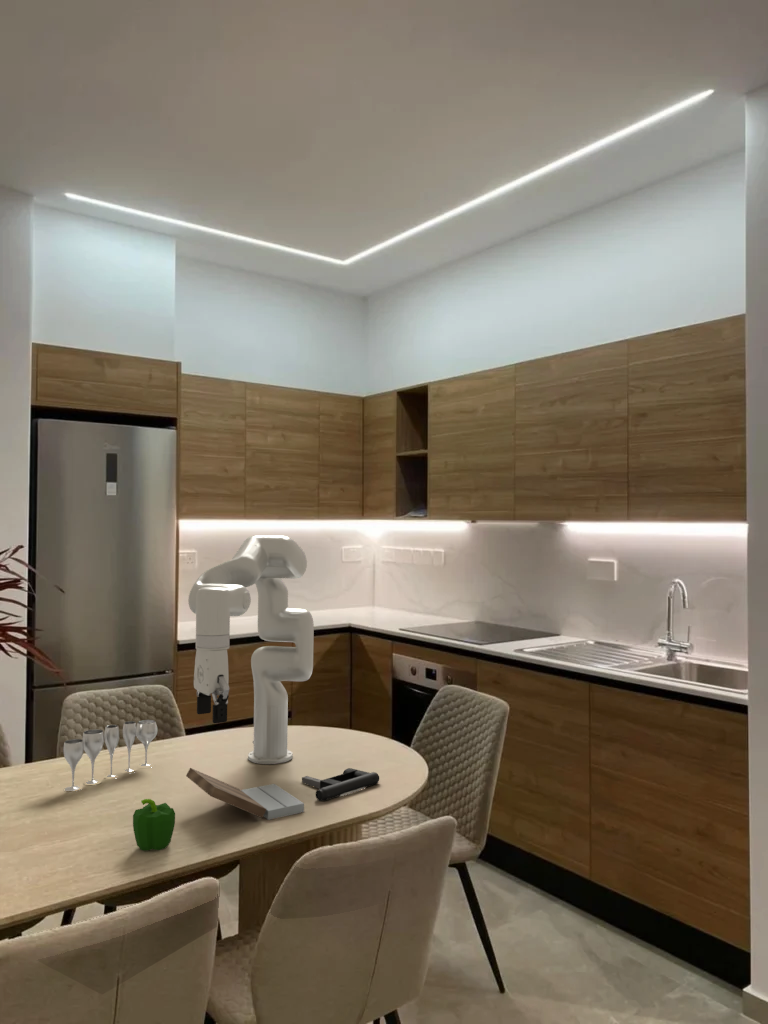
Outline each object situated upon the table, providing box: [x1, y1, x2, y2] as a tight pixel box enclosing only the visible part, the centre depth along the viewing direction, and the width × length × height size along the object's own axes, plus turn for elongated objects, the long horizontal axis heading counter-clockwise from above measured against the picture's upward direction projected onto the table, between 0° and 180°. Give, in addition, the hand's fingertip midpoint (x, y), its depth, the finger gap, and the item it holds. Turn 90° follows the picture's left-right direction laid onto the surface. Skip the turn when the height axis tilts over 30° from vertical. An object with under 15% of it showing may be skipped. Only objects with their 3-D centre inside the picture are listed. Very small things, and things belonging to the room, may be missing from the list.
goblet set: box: [62, 719, 158, 792], centre depth 204 cm, size 28×6×13 cm, turn 147°
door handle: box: [301, 767, 380, 802], centre depth 198 cm, size 3×20×16 cm
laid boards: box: [240, 783, 305, 821], centre depth 184 cm, size 16×9×2 cm, turn 33°
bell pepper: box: [132, 798, 176, 852], centre depth 160 cm, size 8×8×10 cm
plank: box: [185, 767, 266, 818], centre depth 178 cm, size 16×14×2 cm
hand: (211, 717), depth 176 cm, fingers open, 9 cm apart
